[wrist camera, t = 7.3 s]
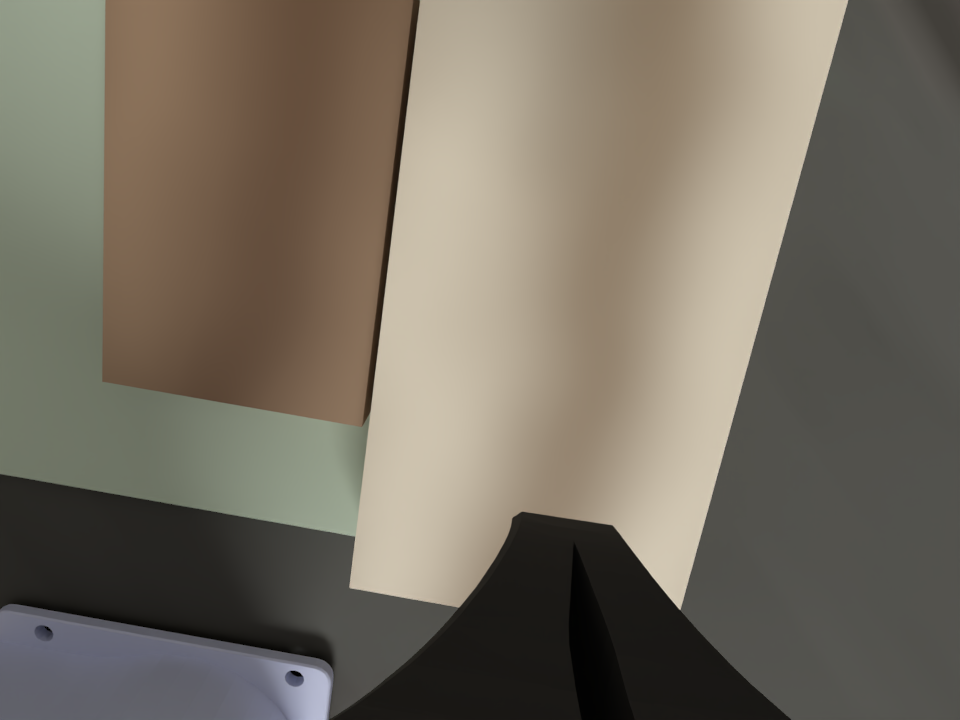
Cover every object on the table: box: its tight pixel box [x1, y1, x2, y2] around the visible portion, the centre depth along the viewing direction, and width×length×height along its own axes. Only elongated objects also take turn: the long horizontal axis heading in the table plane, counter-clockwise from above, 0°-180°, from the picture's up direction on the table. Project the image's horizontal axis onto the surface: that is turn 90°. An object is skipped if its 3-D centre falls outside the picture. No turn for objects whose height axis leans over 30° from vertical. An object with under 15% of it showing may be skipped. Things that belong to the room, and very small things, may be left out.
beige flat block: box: [349, 0, 848, 610], centre depth 17 cm, size 8×16×2 cm, turn 171°
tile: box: [102, 0, 420, 427], centre depth 17 cm, size 6×9×2 cm, turn 171°
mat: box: [0, 0, 371, 536], centre depth 18 cm, size 13×16×1 cm
